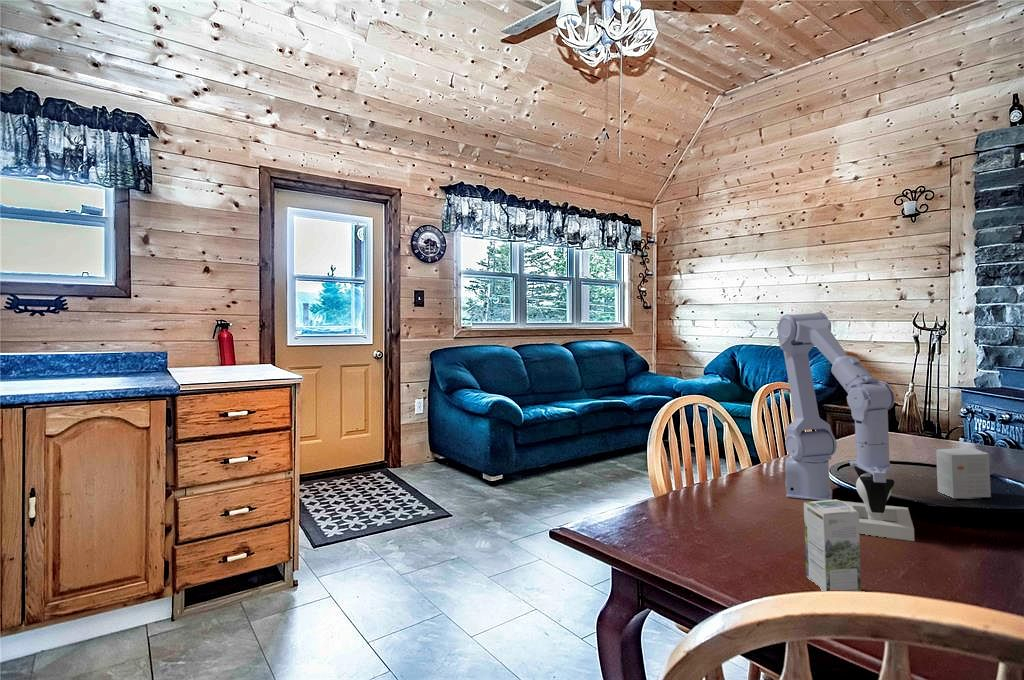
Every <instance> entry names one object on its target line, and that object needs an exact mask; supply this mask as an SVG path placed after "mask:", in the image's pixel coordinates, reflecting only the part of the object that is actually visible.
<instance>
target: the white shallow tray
mask: <svg viewBox="0 0 1024 680" xmlns="http://www.w3.org/2000/svg"><path fill="white" fill-rule="evenodd" d="M841 501H842V502H844V503H846V504H847V505H849V506H851V507H852V508H854V509H855V510H856V511H858V512H859V533H860V534H865V535H864V536H868V535H871V536H870V537H876V536H878V538H884V537H886V539H891V540H892V539H893V540H899V541H900V540H902V541H907V542H908V541H910V542H915V527H914V524H913V520H912V518H911V513H910V510H909V507H906V506H905V507H904V506H896V505H895V506H894V505H886V507H885V511H884V514H883V521H878V520H869V519H868V513H867V512H866V507H865V504H864V502H854V501H846V500H845V501H844V500H841ZM860 534H859V535H860Z"/></svg>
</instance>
